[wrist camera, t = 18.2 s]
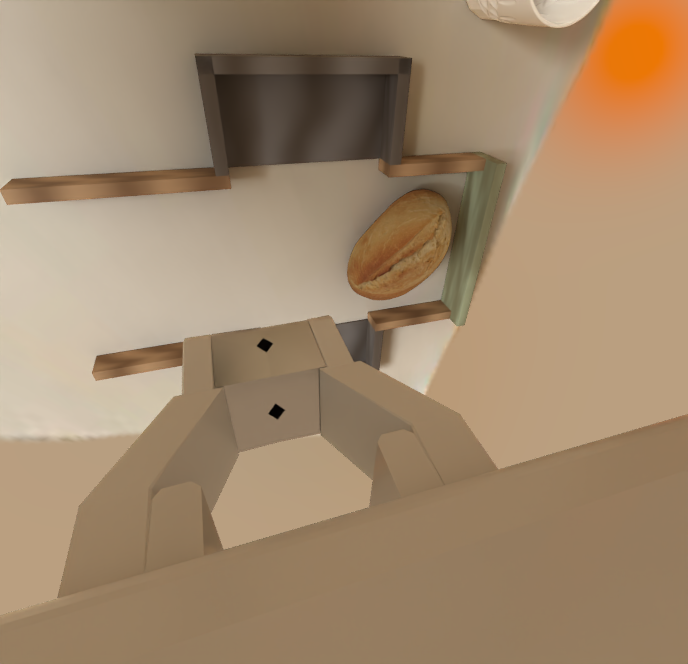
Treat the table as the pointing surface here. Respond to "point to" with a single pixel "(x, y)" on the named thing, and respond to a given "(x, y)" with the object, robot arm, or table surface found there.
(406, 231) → the bread roll
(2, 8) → the table surface
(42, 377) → the table surface
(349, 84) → the box
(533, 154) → the table surface
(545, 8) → the white cup
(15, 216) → the table surface
